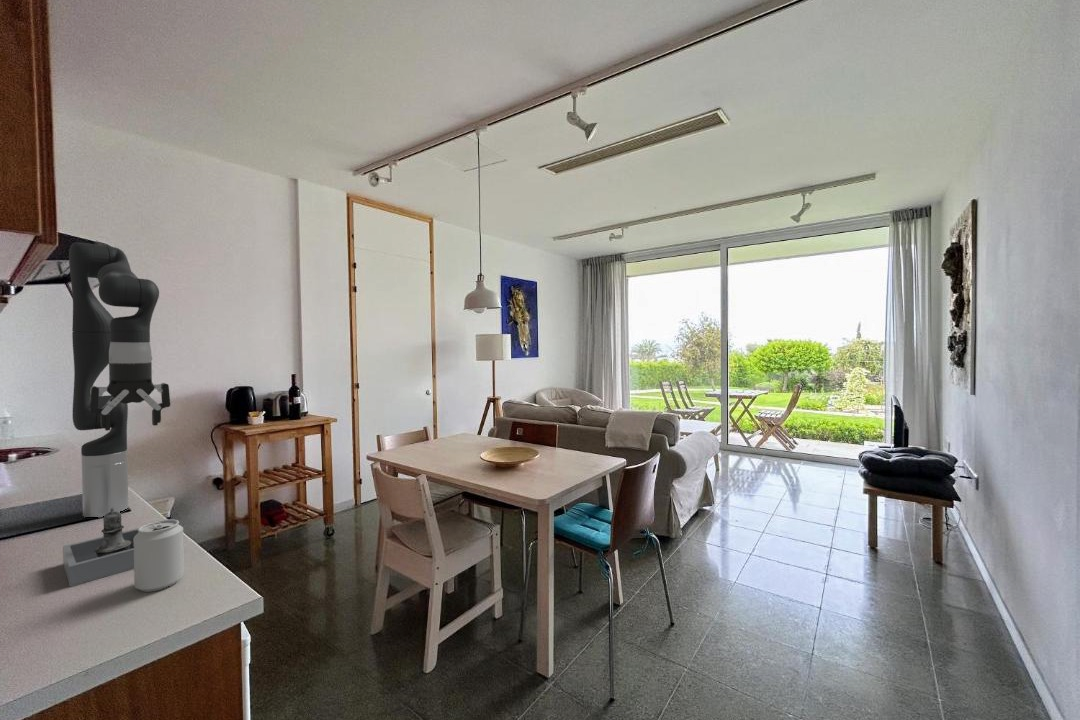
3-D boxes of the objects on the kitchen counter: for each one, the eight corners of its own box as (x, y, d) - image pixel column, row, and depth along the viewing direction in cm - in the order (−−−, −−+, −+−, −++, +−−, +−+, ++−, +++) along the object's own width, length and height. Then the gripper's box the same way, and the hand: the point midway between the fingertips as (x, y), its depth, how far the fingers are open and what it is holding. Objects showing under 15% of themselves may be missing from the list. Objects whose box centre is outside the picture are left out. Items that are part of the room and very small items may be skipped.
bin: (63, 564, 95) (62, 546, 95) (148, 542, 106) (148, 525, 106) (69, 586, 86) (69, 566, 86) (162, 560, 97) (161, 542, 97)
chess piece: (108, 570, 93) (107, 514, 93) (87, 567, 94) (85, 511, 94) (138, 557, 99) (137, 504, 98) (118, 554, 100) (117, 502, 100)
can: (142, 598, 83) (141, 535, 82) (128, 586, 87) (127, 526, 86) (190, 580, 89) (189, 522, 89) (175, 570, 93) (174, 514, 93)
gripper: (165, 359, 114) (166, 421, 115) (86, 360, 103) (88, 429, 104) (172, 361, 109) (173, 426, 110) (90, 362, 98) (91, 434, 99)
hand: (131, 427), depth 107 cm, fingers open, 8 cm apart
